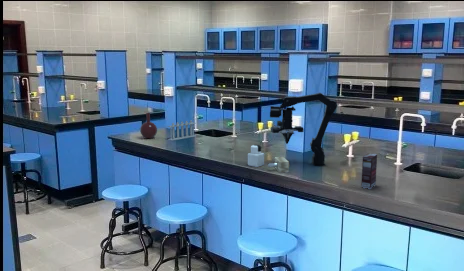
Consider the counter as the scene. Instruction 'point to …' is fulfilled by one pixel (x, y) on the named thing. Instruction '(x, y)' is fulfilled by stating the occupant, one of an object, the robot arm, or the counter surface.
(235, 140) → the counter surface
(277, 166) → the pin
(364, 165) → the supplement box
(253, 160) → the medicine bottle
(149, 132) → the round-bottom flask
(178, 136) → the test tube rack
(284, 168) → the block
